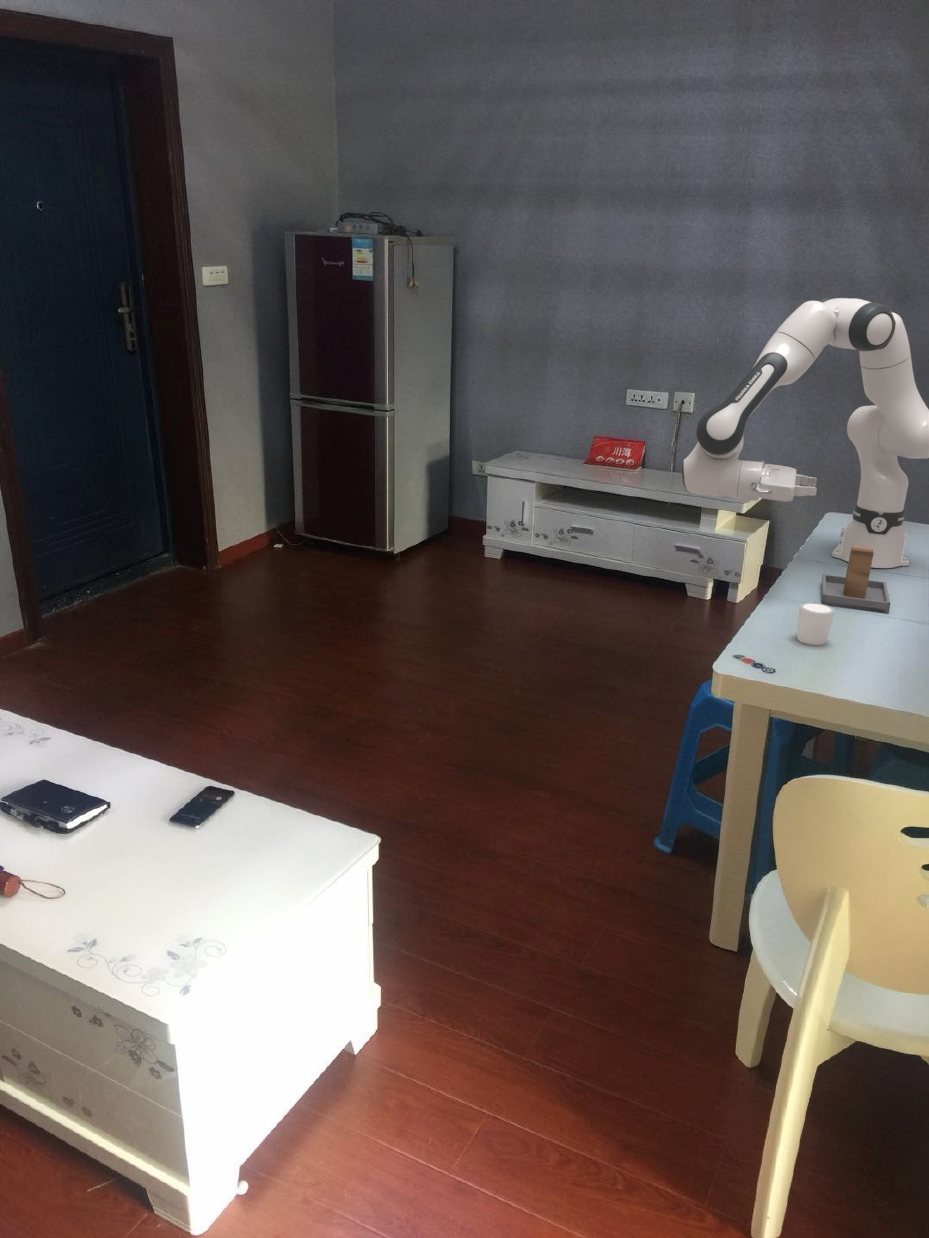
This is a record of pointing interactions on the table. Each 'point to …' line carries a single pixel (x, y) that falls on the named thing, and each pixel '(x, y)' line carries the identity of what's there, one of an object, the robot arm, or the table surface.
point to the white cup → (814, 623)
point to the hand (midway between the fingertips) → (816, 486)
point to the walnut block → (858, 571)
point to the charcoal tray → (873, 599)
